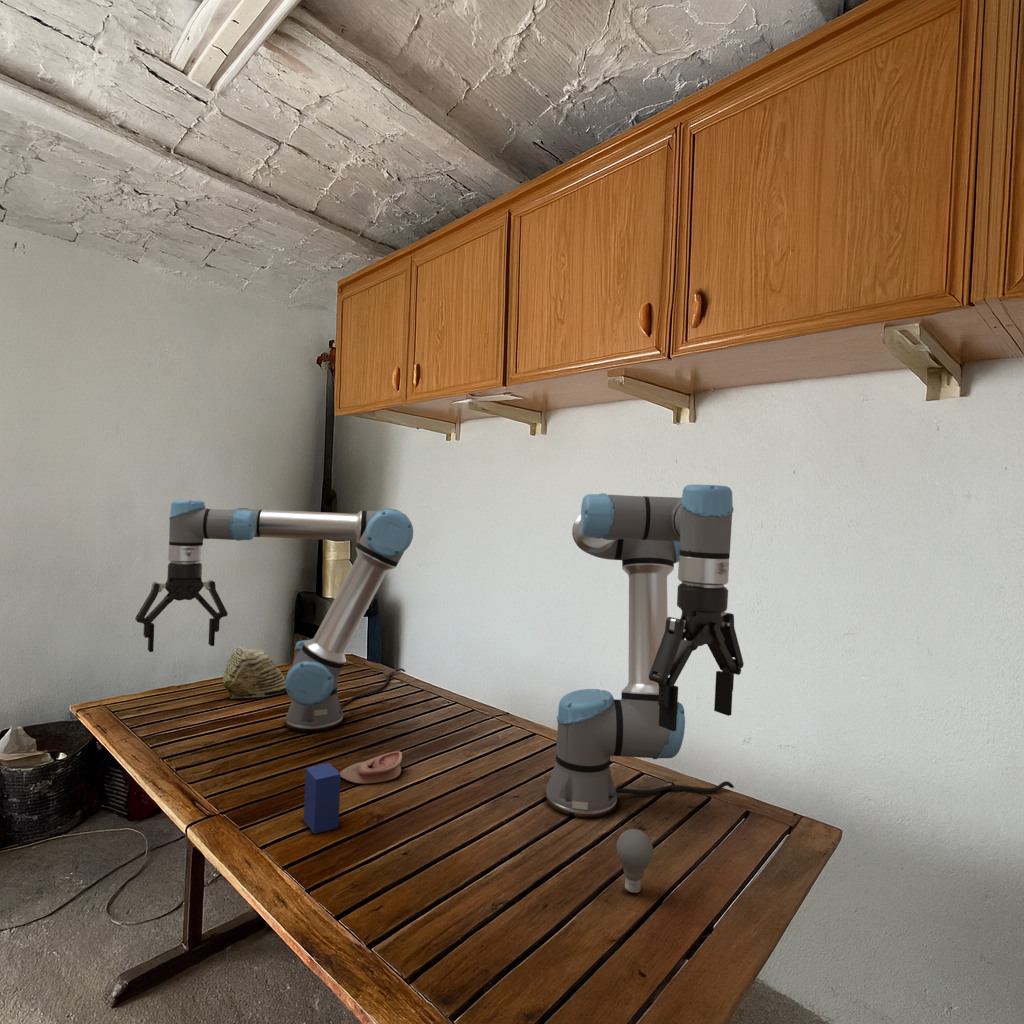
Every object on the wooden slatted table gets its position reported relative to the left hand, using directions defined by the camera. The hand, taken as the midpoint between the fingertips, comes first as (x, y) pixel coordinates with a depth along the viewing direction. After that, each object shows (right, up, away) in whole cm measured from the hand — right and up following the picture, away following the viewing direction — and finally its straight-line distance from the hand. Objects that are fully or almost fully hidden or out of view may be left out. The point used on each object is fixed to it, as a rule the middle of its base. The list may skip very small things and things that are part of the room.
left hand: (181, 647), depth 157 cm
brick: (+45, -27, -34) cm, 62 cm away
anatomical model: (+49, -27, -11) cm, 57 cm away
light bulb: (+102, -30, -51) cm, 118 cm away
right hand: (+110, +1, -58) cm, 125 cm away
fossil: (+1, -24, +41) cm, 48 cm away
